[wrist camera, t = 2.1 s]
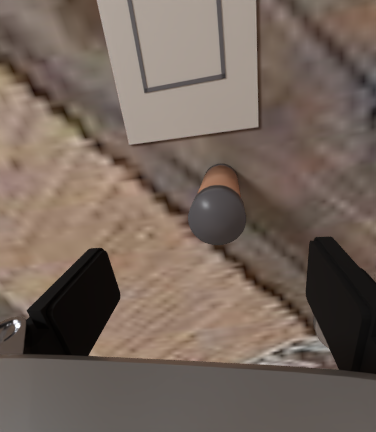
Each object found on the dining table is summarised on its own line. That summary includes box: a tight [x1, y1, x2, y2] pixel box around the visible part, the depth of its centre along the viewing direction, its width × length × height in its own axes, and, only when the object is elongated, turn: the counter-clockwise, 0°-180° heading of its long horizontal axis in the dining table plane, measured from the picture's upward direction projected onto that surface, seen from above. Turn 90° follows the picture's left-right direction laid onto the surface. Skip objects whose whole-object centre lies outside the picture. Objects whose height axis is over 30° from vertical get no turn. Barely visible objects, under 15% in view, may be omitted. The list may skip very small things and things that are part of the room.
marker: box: [188, 164, 246, 245], centre depth 22 cm, size 4×4×12 cm
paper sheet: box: [97, 0, 258, 145], centre depth 22 cm, size 15×19×1 cm
